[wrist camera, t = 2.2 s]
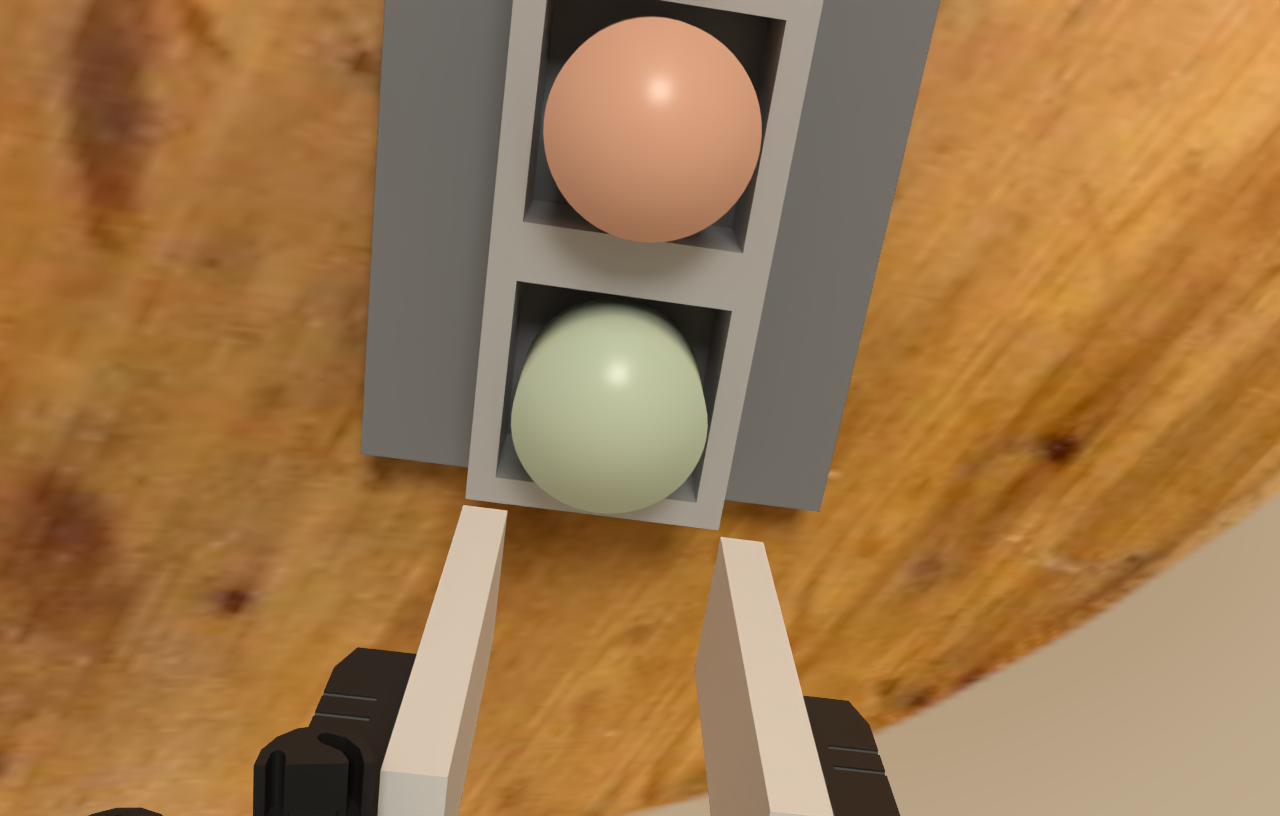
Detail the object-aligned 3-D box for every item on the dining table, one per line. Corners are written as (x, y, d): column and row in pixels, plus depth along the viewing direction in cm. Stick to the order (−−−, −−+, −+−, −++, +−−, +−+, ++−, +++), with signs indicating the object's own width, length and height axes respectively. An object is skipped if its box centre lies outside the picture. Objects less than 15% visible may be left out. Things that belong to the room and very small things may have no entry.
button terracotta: (564, 0, 25) (556, 1, 22) (763, 32, 25) (781, 36, 22) (541, 202, 26) (532, 226, 24) (727, 229, 27) (740, 256, 24)
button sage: (532, 285, 27) (521, 318, 24) (713, 311, 27) (723, 346, 25) (513, 452, 29) (501, 501, 26) (683, 474, 29) (690, 524, 26)
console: (425, -412, 25) (379, -507, 20) (990, -309, 26) (1070, -375, 21) (375, 427, 33) (334, 499, 28) (808, 483, 34) (838, 560, 29)
